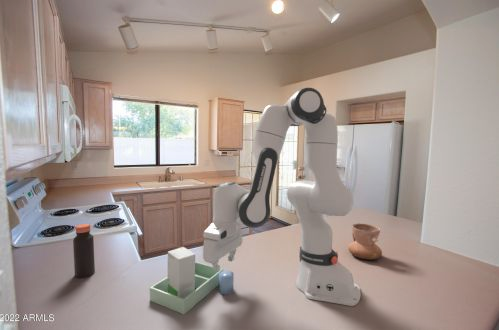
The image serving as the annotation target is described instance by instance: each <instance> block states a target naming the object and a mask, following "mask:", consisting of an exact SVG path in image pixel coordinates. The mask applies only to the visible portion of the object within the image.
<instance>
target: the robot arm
mask: <svg viewBox="0 0 499 330" xmlns="http://www.w3.org/2000/svg"><path fill="white" fill-rule="evenodd" d="M323 98H324V97H323V96H322V93H320V91H319V90H317V89H316V88H314V87H303V88H300V89H298V90H297V91H296V92H295V93H293V95H291V96H290V98H289V99H287V102H285V103H284V105H281V104H275V103H274V104H269V105H267V106H266V107H265V108H264V109H263V111H262V113H261V116H260V117H259V120H258V122H257V125H256V129H255V131H254V135H253V140H252V153H253V157H254V160H255V170H254V174H253V178H252V182H251V185H250V190H249V189H246V188H245V187H243V186H241V185H239V184H238V183H237V182H236V181H227V182H222V183H219V184H217V186H216V187H215V188H214V192H213V204H212V205H213V206H212V207H213V217H212V222H211V223H210V225H209V226H208V227H207V228H206V229H205V230H204V231H203V234H202V235H203V238H204V241H203V245H202V259H203V260H204V262H206V263H209V264H212V265H211V266H213V271H215V272H218V271H219V270H220V268H221V265H220V264H219V263H220V262H219V260H220V259H223V258H224V257H225V256H227V255H228V254H229V255H228V257H227V261H228V262H233V261H234V260H235V254H236V252H237V249H238V248H239V247H241V246H242V243H243V231H242V228H241V224H240V222H241V223H242V224H243V225H244V226H246V227H248V228H251V229H256V228H257V229H258V228H259V227H262V226H265V224H267V222H268V221H269V219H270V216H271V205H270V194H271V190H272V186H273V182H274V177H275V174H276V173H275V172H276V168H277V164H278V162H279V158H280V156H281V153H282V150H283V147H284V144H285V141H286V138H287V137H286V136H287V133H288V131H289V128H290V127H299V126H304V128H305V132H306V139H305V151H304V165H305V167H306V168H307V169H308V170H309V171H310V172H311V173H312V175H313V177H314V180H313V181H312V180H307V179H303V180H295V181H293V182H292V183H290V184H289V185H288V188H287V192H286V196H287V197H286V198H287V200H288V202H289V203H290V204H291V206H292V207H293V208H294V210H295V212H296V215H297V218H298V222H299V226H300V237H301V238H300V239H301V241H300V243H301V245H300V247H299V262H300V263H299V270H298V275H297V278H296V281H295V285H296V287H297V288H298V289H299V290H300V291H301V292H302V293H303V294H304V295H305V297H306V298H307V299H309V300H315V301H320V302H321V301H322V302H326V303H333V304H339V305H344V306H349V307H353V306H356V305H357V304H359V302H360V300H361V296H362V295H361V288H360V286H359V285H358V284H357V282H355V281H354V277H353V275H352V272H351V271H350V270H349V269H348V268H347V267H346V266H344V265H343V264H342V263H341V262H340V261H339V254H338V251H334V249H333V234H334V233H333V229H332V227H331V225H330V224H329V223H328V222H327V221H326V220H325V218H324V216H323V215H326V216H330V217H345V216H347V215H349V213H350V212H351V211H352V209H353V206H354V196H353V194H352V192H351V189H349V188H348V186H346V185H345V183H344V182H343V181H342V179H341V177H340V173H339V170H338V165H337V164H338V163H337V159H338V142H339V141H338V140H339V139H338V138H339V137H338V136H339V135H338V132H339V131H338V123H337V119H336V118H335V116H334V115H332V114H330V113H327V106H326V105H325V101H324V99H323ZM238 219H239V220H240V222H239V220H238Z"/></svg>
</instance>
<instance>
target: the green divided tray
mask: <svg viewBox="0 0 499 330" xmlns="http://www.w3.org/2000/svg"><path fill="white" fill-rule="evenodd" d="M222 271H224V268H221V267H220V270H219V271H218V272H215V271H213V265H210V264H207V263H206V264H205V263H202V262H198V261H196V260H195V288H196V289H195V290H194V291H193V292H192V293H191V294H189V295H188V296H187V297H186V298H184V299H183V298H180V297H177V296H175V295H172V294H169V293H167V281H168V276H166V277H165V278H162V279H161V280H160V281H158V282H156V283H154V284H153V285H152V286H150V287H149V301H150V302H152V303H155V304H158V305H160V306H162V307H166V308H167V309H170V310H172V311H174V312H178V313H180V314H182V315H185V314H187V313H188V312H189V311H190V310H191V309H193V307H195V306H196V305H197V304H198V303H199V302H200V301H202V299H204V298H205V297H206V296H207V295H208V294H210V293H211V292H212V291H213V290H214V289H215V288H216V287H219V273H220V272H222Z"/></svg>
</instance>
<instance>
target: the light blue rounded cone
mask: <svg viewBox="0 0 499 330" xmlns="http://www.w3.org/2000/svg"><path fill="white" fill-rule="evenodd" d="M234 279H235V278H234V272H233V271H231V270H223V271H222V272H220V273H219V285H218V292H219V294H221V295H230V294H232V293H233V292H234V290H235V288H234V286H235V285H234Z"/></svg>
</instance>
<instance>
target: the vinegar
mask: <svg viewBox="0 0 499 330" xmlns="http://www.w3.org/2000/svg"><path fill="white" fill-rule="evenodd" d="M90 232H91V224H90V223H82V224H77V225H75V234H76V236H75V237H74V238H73V240H72V243H73V262H74V263H73V265H74V267H73V268H74V277H75V278H77V279H79V278H80V279H82V278H87V277H89V276H92V275H93V274H94V273H95V271H96V270H95V269H96V268H95V266H96V265H95V245H94V244H95V243H94V235H93V234H91V233H90Z"/></svg>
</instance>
